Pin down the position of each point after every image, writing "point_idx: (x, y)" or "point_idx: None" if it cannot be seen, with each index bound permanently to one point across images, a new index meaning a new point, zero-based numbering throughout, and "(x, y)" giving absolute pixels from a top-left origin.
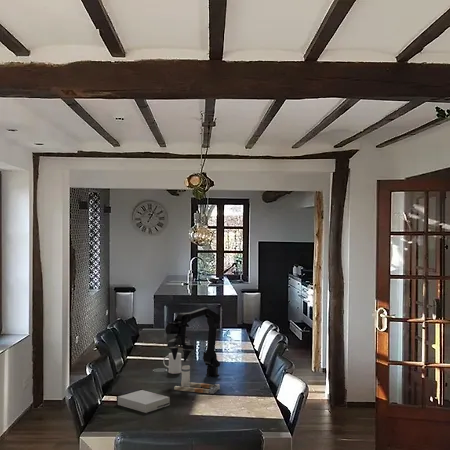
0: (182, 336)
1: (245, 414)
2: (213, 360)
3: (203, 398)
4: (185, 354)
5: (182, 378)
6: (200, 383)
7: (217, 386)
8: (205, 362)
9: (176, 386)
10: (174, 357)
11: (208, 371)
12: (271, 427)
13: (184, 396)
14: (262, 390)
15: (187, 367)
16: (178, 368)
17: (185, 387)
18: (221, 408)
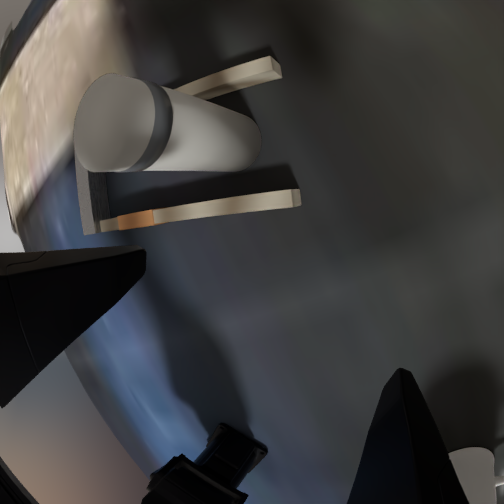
0: None
1: (23, 56)
2: (155, 475)
3: (100, 61)
4: (17, 259)
5: (199, 98)
6: (159, 222)
7: (80, 200)
8: (226, 495)
9: (257, 65)
10: (393, 401)
11: (228, 449)
12: (6, 46)
13: (169, 19)
14: None
15: (83, 104)
16: None
17: (192, 84)
18: (52, 39)
